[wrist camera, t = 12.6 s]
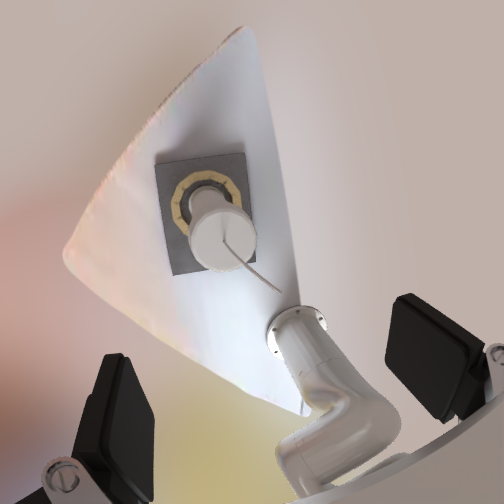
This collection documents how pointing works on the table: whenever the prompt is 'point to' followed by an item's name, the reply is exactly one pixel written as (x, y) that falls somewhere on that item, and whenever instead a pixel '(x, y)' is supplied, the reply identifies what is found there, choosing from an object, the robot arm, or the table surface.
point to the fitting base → (178, 194)
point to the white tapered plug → (220, 233)
